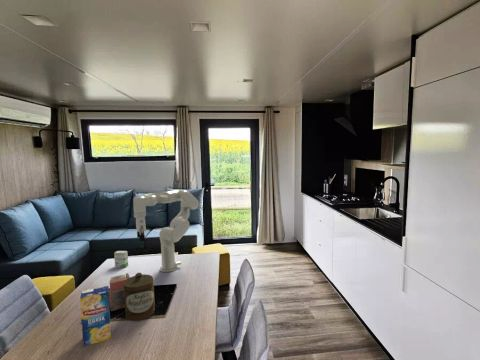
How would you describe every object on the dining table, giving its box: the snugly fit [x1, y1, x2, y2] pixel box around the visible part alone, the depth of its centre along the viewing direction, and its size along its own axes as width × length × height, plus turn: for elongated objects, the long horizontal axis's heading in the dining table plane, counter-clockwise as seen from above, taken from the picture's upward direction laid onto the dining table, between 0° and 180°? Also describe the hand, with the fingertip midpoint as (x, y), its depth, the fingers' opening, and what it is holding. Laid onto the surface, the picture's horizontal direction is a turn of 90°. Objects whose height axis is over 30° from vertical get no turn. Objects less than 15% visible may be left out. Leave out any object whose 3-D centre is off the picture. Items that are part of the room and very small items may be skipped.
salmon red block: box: [109, 276, 127, 302], centre depth 150 cm, size 9×4×11 cm, turn 121°
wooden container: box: [124, 272, 156, 322], centre depth 138 cm, size 15×15×22 cm
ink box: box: [113, 250, 129, 269], centre depth 202 cm, size 9×5×12 cm, turn 84°
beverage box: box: [80, 285, 112, 347], centre depth 118 cm, size 7×11×22 cm, turn 117°
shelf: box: [109, 272, 130, 312], centre depth 153 cm, size 12×23×11 cm, turn 30°
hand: (141, 239), depth 178 cm, fingers open, 9 cm apart
